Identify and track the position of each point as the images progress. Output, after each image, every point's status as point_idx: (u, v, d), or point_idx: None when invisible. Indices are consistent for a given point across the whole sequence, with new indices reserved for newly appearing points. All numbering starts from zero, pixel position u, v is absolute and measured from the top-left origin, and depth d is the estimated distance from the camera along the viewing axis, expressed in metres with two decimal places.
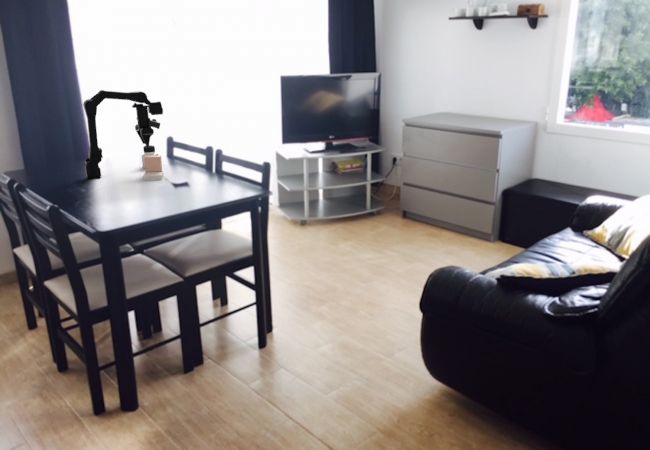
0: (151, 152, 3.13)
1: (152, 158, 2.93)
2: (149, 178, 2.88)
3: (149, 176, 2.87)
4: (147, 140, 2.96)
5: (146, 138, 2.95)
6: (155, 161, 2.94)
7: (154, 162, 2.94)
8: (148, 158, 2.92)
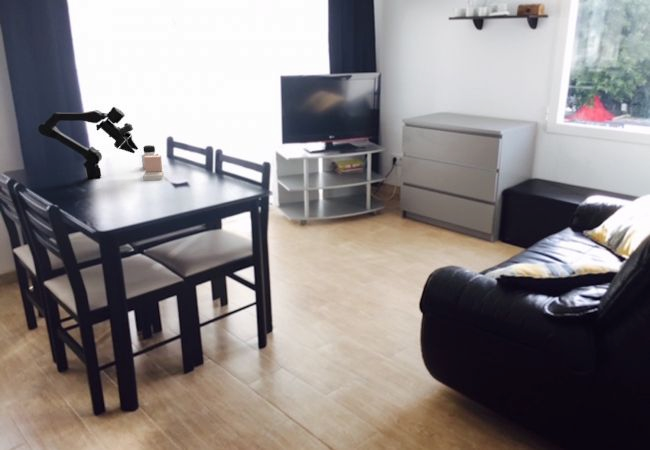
0: (151, 152, 3.13)
1: (152, 158, 2.93)
2: (149, 178, 2.88)
3: (149, 176, 2.87)
4: (128, 148, 2.86)
5: (126, 147, 2.86)
6: (155, 161, 2.94)
7: (154, 162, 2.94)
8: (148, 158, 2.92)
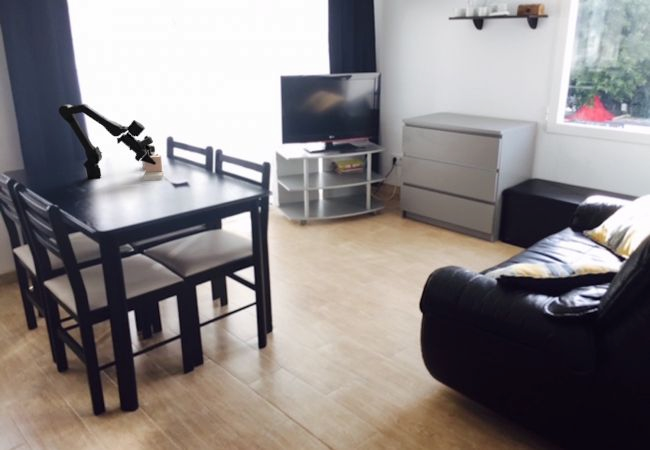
0: (151, 152, 3.13)
1: (152, 158, 2.93)
2: (149, 178, 2.88)
3: (149, 176, 2.87)
4: (150, 160, 2.92)
5: (147, 159, 2.91)
6: (155, 161, 2.94)
7: None
8: None
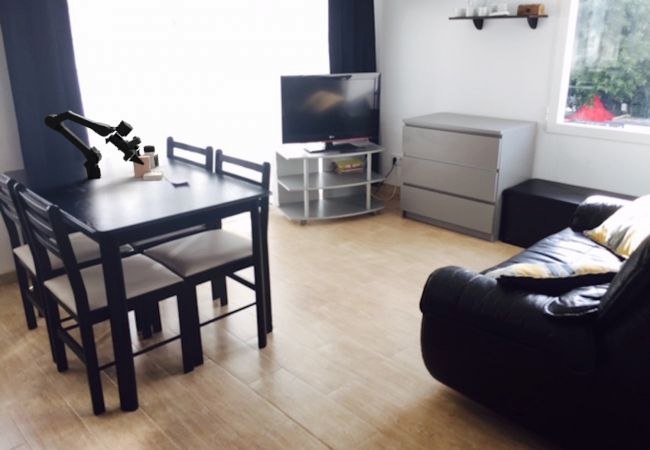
0: (151, 152, 3.13)
1: (140, 158, 2.92)
2: (149, 178, 2.88)
3: (149, 176, 2.87)
4: (138, 160, 2.91)
5: (136, 159, 2.90)
6: (144, 161, 2.93)
7: None
8: None
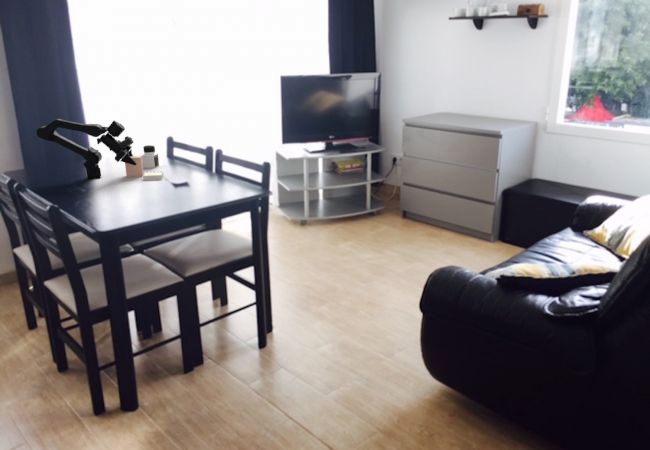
0: (151, 152, 3.13)
1: None
2: (149, 178, 2.88)
3: (149, 176, 2.87)
4: (130, 160, 2.90)
5: (128, 160, 2.90)
6: (136, 162, 2.92)
7: (135, 162, 2.92)
8: None
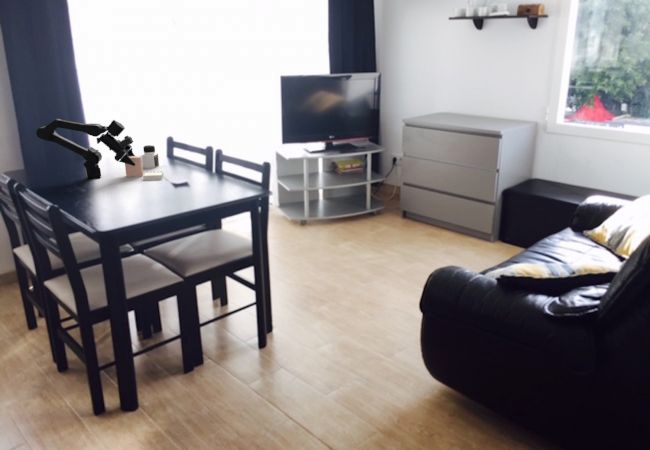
0: (151, 152, 3.13)
1: (132, 159, 2.91)
2: (149, 178, 2.88)
3: (149, 176, 2.87)
4: (129, 161, 2.88)
5: (126, 160, 2.88)
6: (135, 162, 2.92)
7: (134, 162, 2.92)
8: None
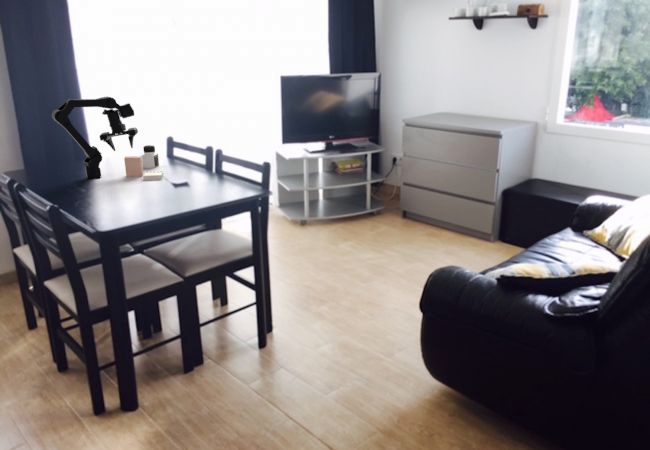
0: (151, 152, 3.13)
1: (132, 159, 2.91)
2: (149, 178, 2.88)
3: (149, 176, 2.87)
4: (132, 141, 2.98)
5: (131, 139, 2.97)
6: (135, 162, 2.92)
7: (134, 162, 2.92)
8: (128, 159, 2.91)
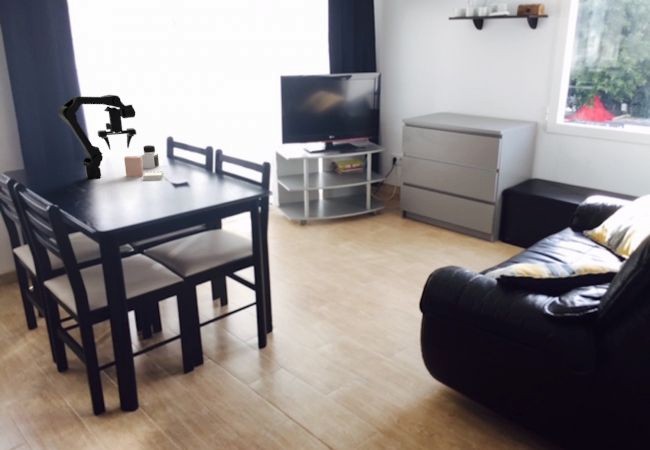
0: (151, 152, 3.13)
1: (132, 159, 2.91)
2: (149, 178, 2.88)
3: (149, 176, 2.87)
4: None
5: None
6: (135, 162, 2.92)
7: (134, 162, 2.92)
8: (128, 159, 2.91)
